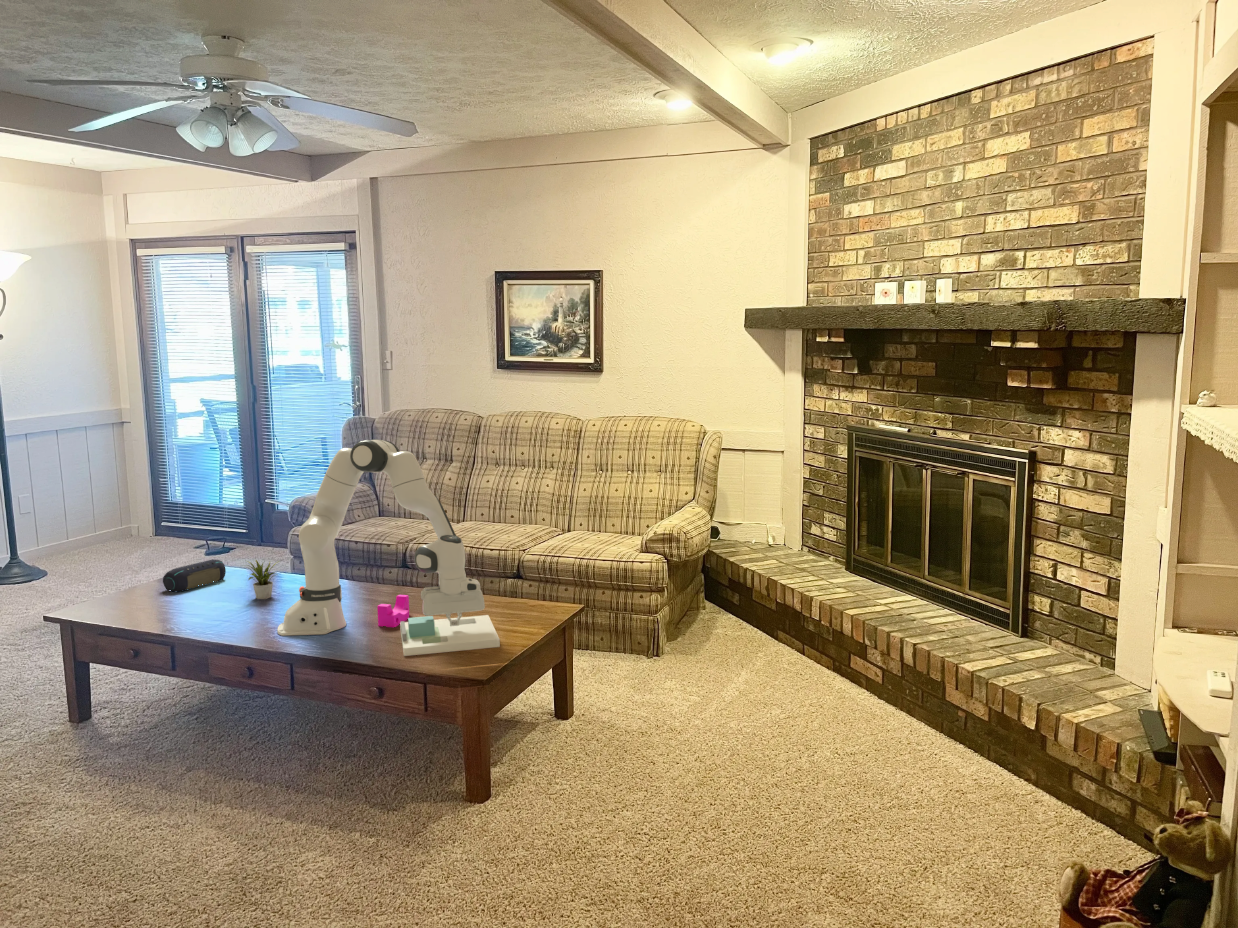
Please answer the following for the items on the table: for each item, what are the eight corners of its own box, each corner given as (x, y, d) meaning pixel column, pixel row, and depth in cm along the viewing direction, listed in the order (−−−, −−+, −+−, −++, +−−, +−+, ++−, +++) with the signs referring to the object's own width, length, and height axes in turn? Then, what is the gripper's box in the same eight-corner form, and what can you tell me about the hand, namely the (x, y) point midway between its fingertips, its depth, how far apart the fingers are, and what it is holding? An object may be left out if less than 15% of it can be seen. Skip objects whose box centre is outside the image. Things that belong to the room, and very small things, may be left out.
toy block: (394, 628, 318) (393, 607, 317) (378, 626, 320) (377, 605, 319) (415, 615, 333) (414, 595, 332) (400, 614, 334) (399, 594, 333)
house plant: (232, 603, 351) (229, 561, 349) (254, 593, 365) (251, 553, 362) (266, 605, 348) (263, 562, 346) (287, 595, 361) (284, 554, 359)
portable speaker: (177, 596, 361) (175, 572, 360) (160, 594, 366) (159, 569, 365) (231, 582, 383) (229, 558, 382) (214, 579, 388) (213, 556, 387)
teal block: (409, 637, 299) (409, 623, 299) (408, 631, 306) (408, 617, 305) (434, 635, 301) (434, 621, 301) (433, 628, 308) (432, 615, 308)
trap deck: (403, 655, 289) (403, 640, 288) (400, 629, 316) (399, 615, 315) (499, 646, 297) (499, 631, 296) (488, 621, 324) (488, 607, 323)
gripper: (421, 589, 299) (422, 631, 300) (484, 584, 304) (486, 625, 306) (419, 585, 305) (421, 625, 307) (482, 579, 310) (483, 619, 312)
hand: (454, 625), depth 306 cm, fingers closed
